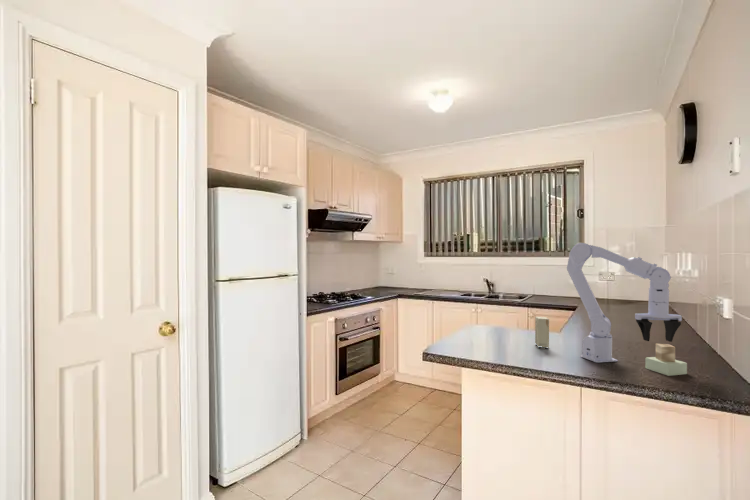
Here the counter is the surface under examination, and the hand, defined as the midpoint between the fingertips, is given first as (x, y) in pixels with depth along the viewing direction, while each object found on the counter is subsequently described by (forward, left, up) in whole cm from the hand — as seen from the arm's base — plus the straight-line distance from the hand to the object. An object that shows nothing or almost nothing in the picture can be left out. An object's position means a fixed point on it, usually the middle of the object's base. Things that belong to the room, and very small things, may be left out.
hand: (657, 340), depth 134 cm
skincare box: (-22, +32, -10) cm, 40 cm away
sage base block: (-1, -4, -10) cm, 10 cm away
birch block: (-1, -4, -6) cm, 7 cm away
